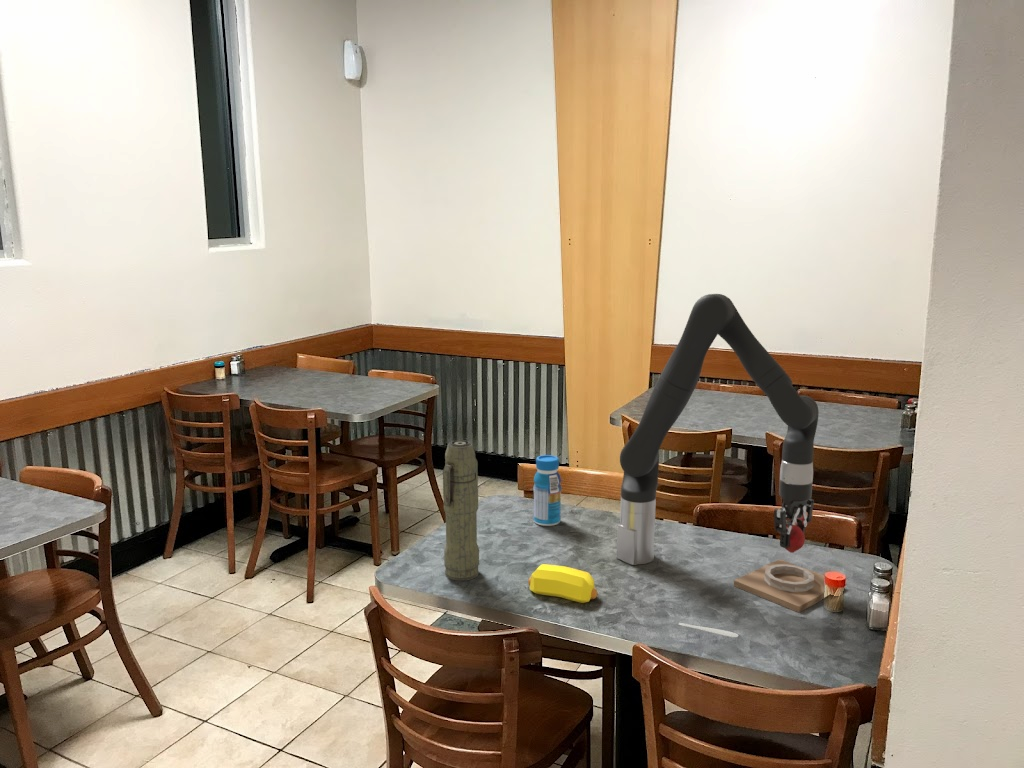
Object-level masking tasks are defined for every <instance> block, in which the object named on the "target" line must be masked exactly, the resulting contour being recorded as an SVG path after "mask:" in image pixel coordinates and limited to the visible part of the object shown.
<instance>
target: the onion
mask: <svg viewBox="0 0 1024 768" xmlns="http://www.w3.org/2000/svg"><path fill="white" fill-rule="evenodd" d="M786 529H787V526H786ZM805 542H806V536H805V535H804V533H803V531H802V530H801V529H800V528H799V527H798V526H797V523H796V522H795V525H794V526H792V528H791V531H790V546H789V548H784V549H785V550H786V551H788V552H789V553H791V554H794V553H795V552H797V551H800V550H801V549H802V548H803V546H804V544H805Z"/></svg>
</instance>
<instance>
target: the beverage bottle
mask: <svg viewBox="0 0 1024 768" xmlns="http://www.w3.org/2000/svg"><path fill="white" fill-rule="evenodd" d="M535 465H536V466H535V467H536V470H537V471H536V472H535V474H534V478H533V482H534V485H533V488H532V491H533V522H534V523H535V524H536V525H539V526H543V527H552V526H555V525H559V524H560V522H561V510H562V509H561V504H562V503H561V501H562V498H561V497H562V485H561V483H562V477H561V474H560V473H559V471H558V470H559V467H560V458H559V457H558V456H556V455H552V454H551V455H550V454H546V455H545V454H543V455H539V456H536V459H535Z"/></svg>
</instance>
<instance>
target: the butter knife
mask: <svg viewBox="0 0 1024 768" xmlns="http://www.w3.org/2000/svg"><path fill="white" fill-rule="evenodd" d="M678 625H680V626H682V627H687V628H692V629H695V630H701V631H703V632H707V633H711V634H712V633H713V634H717V635H720V636H725V637H730V638H739V634H737V633H736V632H732V631H730V630H724V629H719V628H713V627H706V626H701V625H700V626H699V625H694V624H688V623H683V622H679V623H678Z"/></svg>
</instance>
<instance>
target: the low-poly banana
mask: <svg viewBox="0 0 1024 768" xmlns="http://www.w3.org/2000/svg"><path fill="white" fill-rule="evenodd" d="M527 583H528V586H529V590H530V591H531V592H533V593H534V594H537V595H544V596H550V597H558V598H563V599H566V600H569V601H573V602H578V603H582V604H584V603H589V602H590V600H594V599H595V600H596V598H597V596H598V590H597V589H596V587H595V579H594V578H593V576H592V575H591V574H590V572H587V571H585V570H580V569H577V568H572V567H569V566H564V565H558V564H557V565H555V564H554V565H553V564H546V563H542V564H541V565H539V566H538V567H537V568H536V569H535V571H533V572H532V573H531V575H530V577H529V579H528V581H527Z"/></svg>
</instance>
